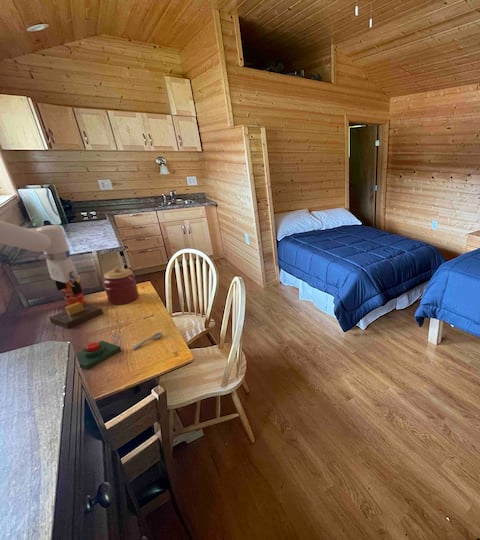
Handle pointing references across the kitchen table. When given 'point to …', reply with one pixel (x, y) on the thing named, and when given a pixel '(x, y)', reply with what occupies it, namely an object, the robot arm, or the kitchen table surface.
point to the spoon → (147, 340)
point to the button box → (97, 355)
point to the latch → (74, 308)
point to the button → (92, 347)
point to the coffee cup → (70, 297)
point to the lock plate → (76, 316)
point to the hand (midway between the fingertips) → (70, 291)
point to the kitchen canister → (120, 286)
